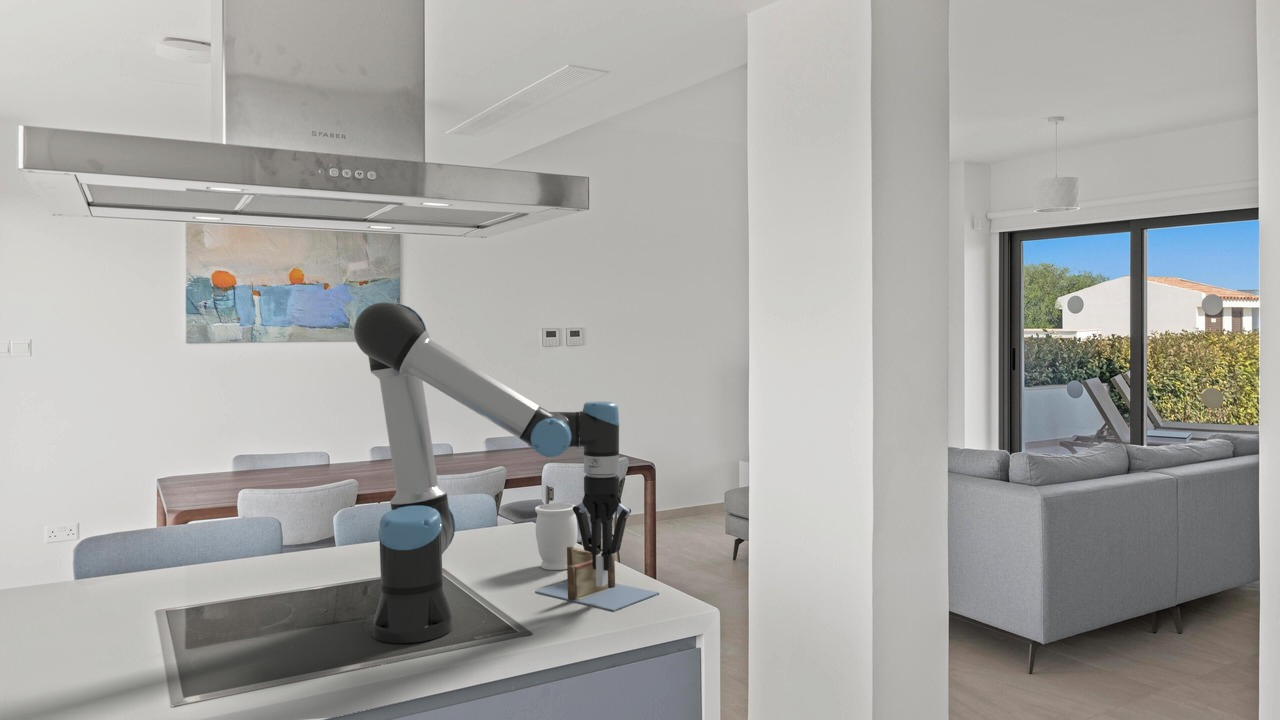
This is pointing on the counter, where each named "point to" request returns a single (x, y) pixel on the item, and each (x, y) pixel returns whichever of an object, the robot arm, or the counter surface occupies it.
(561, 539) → the jar
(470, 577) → the counter surface
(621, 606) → the card
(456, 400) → the robot arm
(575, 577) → the swing panel
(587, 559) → the brown wall panel
